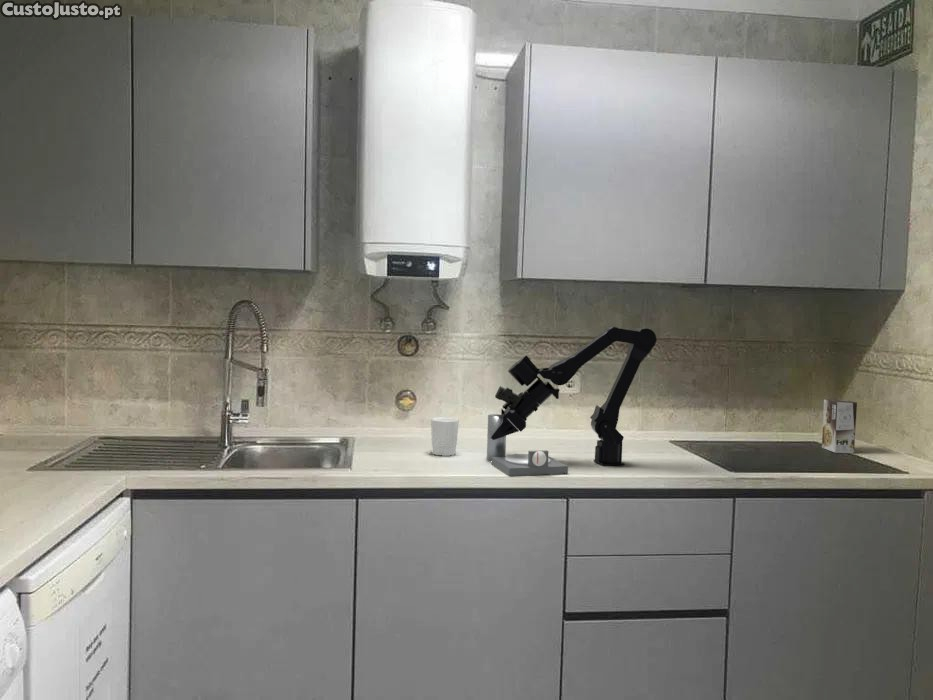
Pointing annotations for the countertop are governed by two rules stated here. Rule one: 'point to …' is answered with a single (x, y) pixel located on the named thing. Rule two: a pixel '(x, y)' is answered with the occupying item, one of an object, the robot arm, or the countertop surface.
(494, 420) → the metal canister
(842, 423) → the coffee box
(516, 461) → the scale
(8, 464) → the countertop surface
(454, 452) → the white cup
